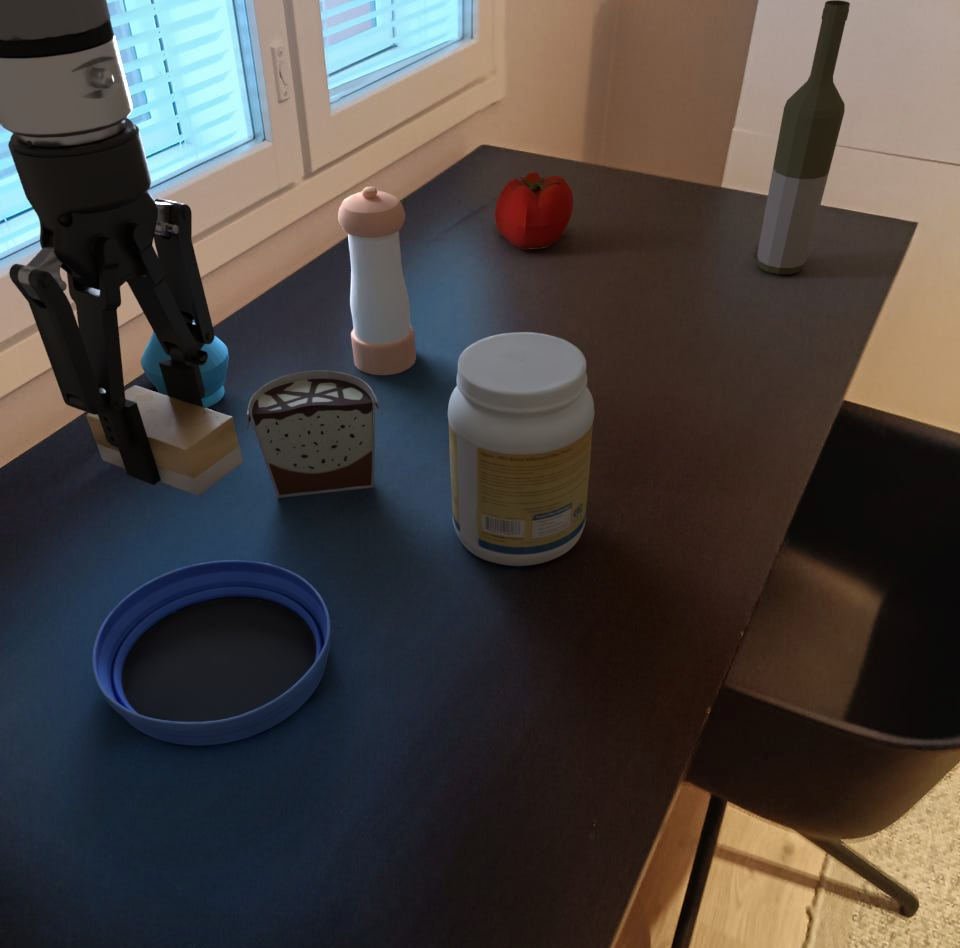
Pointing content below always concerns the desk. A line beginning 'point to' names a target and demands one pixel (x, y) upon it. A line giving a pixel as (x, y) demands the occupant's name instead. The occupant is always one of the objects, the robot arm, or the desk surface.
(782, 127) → the bottle
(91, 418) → the eraser
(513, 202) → the tomato
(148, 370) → the perfume bottle
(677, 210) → the desk surface
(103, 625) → the blue ring
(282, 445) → the food container
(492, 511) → the supplement tub
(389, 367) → the pepper shaker
